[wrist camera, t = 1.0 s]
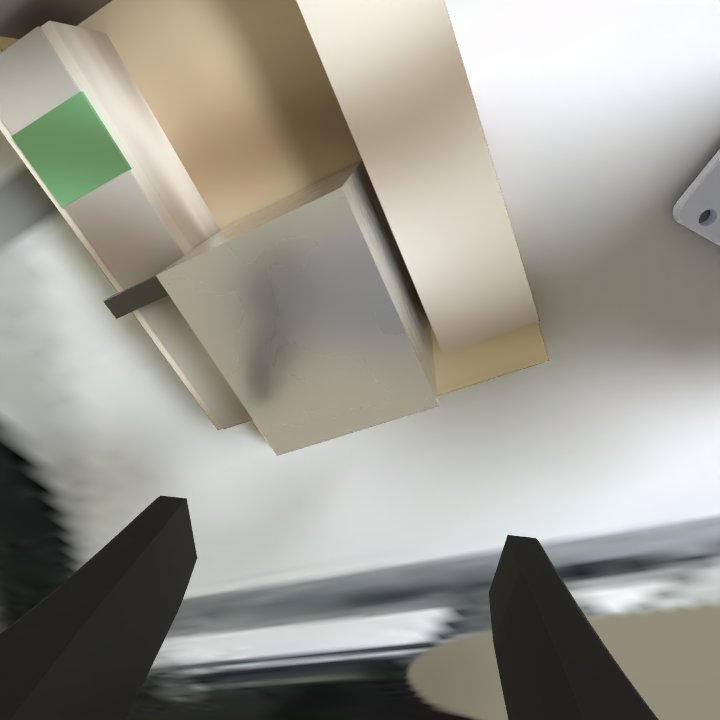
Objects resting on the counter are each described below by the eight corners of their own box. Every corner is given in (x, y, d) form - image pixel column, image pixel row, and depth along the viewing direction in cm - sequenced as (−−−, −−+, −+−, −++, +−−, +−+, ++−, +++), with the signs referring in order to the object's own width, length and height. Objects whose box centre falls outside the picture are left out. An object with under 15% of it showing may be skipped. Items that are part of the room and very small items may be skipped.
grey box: (430, 325, 17) (438, 406, 12) (239, 394, 19) (189, 482, 14) (361, 160, 14) (341, 187, 10) (151, 262, 16) (59, 321, 12)
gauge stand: (541, 345, 18) (612, 476, 12) (277, 431, 21) (223, 569, 15) (302, -441, 10) (110, -1426, 3) (-71, -100, 13) (-516, -286, 7)
